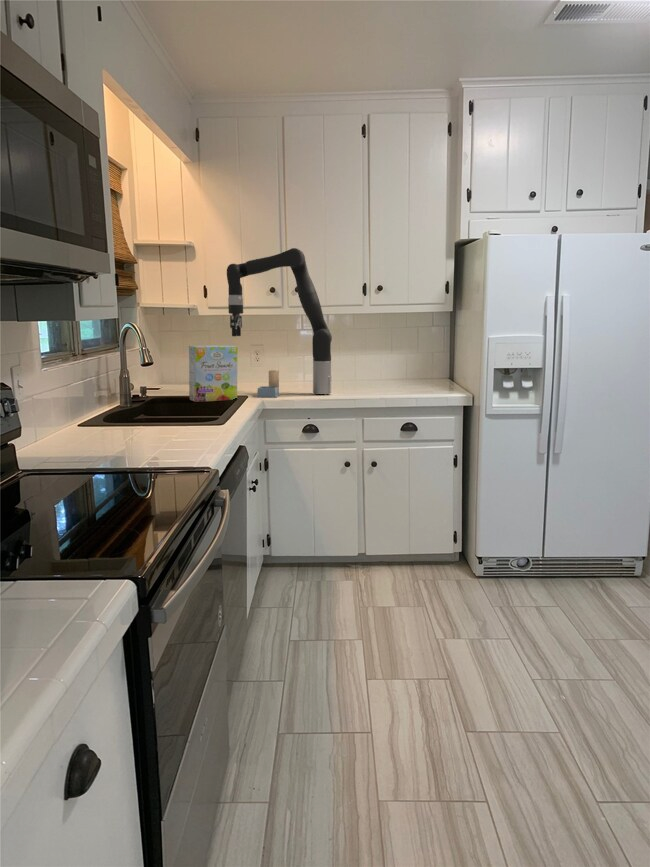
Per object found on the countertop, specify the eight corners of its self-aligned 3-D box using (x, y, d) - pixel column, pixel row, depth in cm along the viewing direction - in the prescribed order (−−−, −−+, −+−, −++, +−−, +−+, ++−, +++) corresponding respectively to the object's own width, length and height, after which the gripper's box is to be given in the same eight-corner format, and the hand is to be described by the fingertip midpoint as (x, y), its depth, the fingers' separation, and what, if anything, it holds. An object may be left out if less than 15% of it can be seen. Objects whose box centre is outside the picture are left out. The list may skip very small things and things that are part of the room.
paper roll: (279, 393, 321) (279, 370, 319) (277, 394, 316) (277, 371, 314) (269, 393, 322) (269, 370, 320) (267, 394, 317) (267, 371, 315)
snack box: (195, 402, 285) (194, 346, 280) (188, 400, 292) (187, 345, 287) (238, 399, 297) (237, 345, 292) (231, 397, 304) (230, 344, 299)
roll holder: (279, 395, 314) (279, 386, 313) (276, 397, 305) (276, 388, 304) (260, 395, 315) (260, 386, 314) (256, 397, 306) (256, 388, 305)
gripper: (239, 303, 309) (240, 336, 312) (246, 304, 323) (246, 335, 326) (224, 303, 310) (225, 336, 313) (232, 304, 324) (233, 335, 327)
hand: (236, 336), depth 320 cm, fingers open, 8 cm apart
